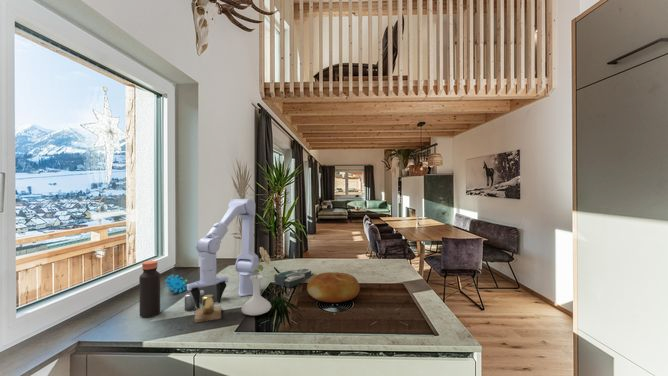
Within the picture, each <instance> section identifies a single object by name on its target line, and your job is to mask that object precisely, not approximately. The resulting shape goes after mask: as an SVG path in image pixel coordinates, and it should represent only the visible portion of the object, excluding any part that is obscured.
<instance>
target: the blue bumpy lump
mask: <svg viewBox="0 0 668 376" xmlns="http://www.w3.org/2000/svg"><path fill="white" fill-rule="evenodd" d="M183 279H184V278H183V276H180V277H179V274H176V275H175V274H171V275H169V276H167V277H166V280H165V281H164V282H165V287H166V288H168V291H169V292H172V291H173V293H174V294H176V293H178V294H181V293H182V292H184V291H185V290H187V284H186V283H187V282H188V279H187V278H186V279H184V280H183Z"/></svg>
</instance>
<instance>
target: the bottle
mask: <svg viewBox="0 0 668 376" xmlns="http://www.w3.org/2000/svg"><path fill="white" fill-rule="evenodd" d="M141 265H142V266H141V267H142V271H143V272H142V273H141V274H140V275H139V284H138V285H139V290H138V291H139V292H138V293H139V296H138V297H139V317H140V318H151V317H154V316H155V317H156V316H157V315H159V313H161V274H160V272H159V271H158V270H157V269H158V261H157V260H147V261H145V262H141Z"/></svg>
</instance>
